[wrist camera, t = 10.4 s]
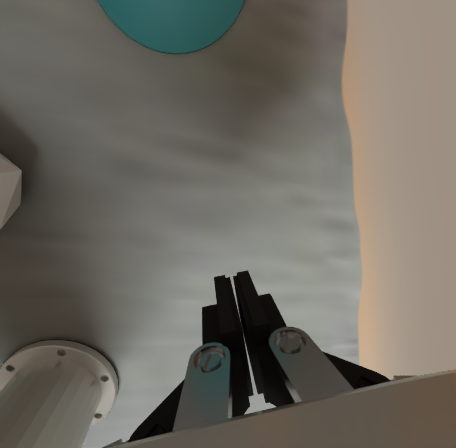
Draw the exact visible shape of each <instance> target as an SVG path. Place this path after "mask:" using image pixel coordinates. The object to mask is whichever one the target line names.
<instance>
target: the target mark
mask: <svg viewBox="0 0 456 448" xmlns="http://www.w3.org/2000/svg"><path fill="white" fill-rule="evenodd" d="M244 1H245V0H98V2H99V3H100V5H101V6H102V8H103V9H104V11H105V12H106V14H107V15H108V16H109V17H110V19H111V20H112V21H113V22H114V23H115V25H117V26H118V27H119V28H120V29H121V30H122V31H123V32H124V33H125V34H126V35H128V36H129V37H130V38H132V39H133V40H135V41H136V42H138V43H140V44H142V45H143V46H146V47H148V48H150V49H153V50H156V51H160V52H164V53H172V54H182V53H189V52H194V51H197V50H200V49H203V48H205V47H207V46H209V45H210V44H212V43H214V42H215V41H216V40H218V39H219V38H220V37H221V36H222V35H223V34H224V33H225V32H226V31H227V30H228V29H229V28H230V27H231V25H232V24H233V23H234V21H235V20H236V18H237V16H238V14H239V13H240V10H241V8H242V6H243V3H244Z"/></svg>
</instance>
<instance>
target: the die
mask: <svg viewBox="0 0 456 448" xmlns="http://www.w3.org/2000/svg"><path fill="white" fill-rule="evenodd" d="M21 180H22V170H20V169H19V168H18V167H17V166H16V165H14V164H13V163H12V162H11V161H9V160H8V159H7V158H6V157H4V156H3V155H2V154H1V153H0V230H1V228H2V227H3V226H4V225H5V223H6V222H7V221H8V219H9V218H10V217H11V216H12V214H13V213H14V212H15V211H16V209H17V208H18V207H19V206H20V204H21Z"/></svg>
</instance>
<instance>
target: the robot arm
mask: <svg viewBox="0 0 456 448" xmlns="http://www.w3.org/2000/svg"><path fill="white" fill-rule="evenodd" d="M233 279H234V285H235V291H236V297H237V302H238V308H239V313H238V309H237V305H236V301H235V297H234V293H233V288H232V284H231V280H230V277H228V278H225V275H222V276H217V277H214V281H215V290H216V299H217V304H215V305H210V306H206V307H202V342H203V345H202V346H200V347H199V348H197V349H196V350H195V351H194V352H193V354H192V355H191V357H190V359H189V363H188V367H187V372H186V376H185V379H184V380H183V381H182V382H181V383H180V384H179V385H178V386H177V387H176V388H175V390H174V391H173V392H172V393H171V394H170V395H169V396H168V397H167V398H166V399H165V400H164V401H163V402H162V403H161V404H160V405H159V406H158V407H157V408H156V409H155V410H154V411H153V412H152V413H151V414H150V415H149V416H148V417H147V418H146V419H145V420H144V422H143V423H142V424H141V425H140V426H139V427H138V428H137V429H136V430H135V432H134V433H133V434H132V435H131V437H130V439H129V440H128V441H126V442H123V441H122V439H120V440H118V441H116V442H113V443H111V444H109V445H107V446H105V447H103V448H456V370H448V371H442V372H436V373H430V374H424V375H419V376H394V378H393V380H389V379H388V378H386V377H385V376H383V375H381V374H379V373H377V372H374V371H372V370H369V369H367V368H364V367H362V366H359V365H356V364H354V363H351V362H348V361H346V360H343V359H341V358H338V357H335V356H333V355H330V354H328V353H325V352H322V351H321V350H320V348H319V347H318V346H317V345H316V344H315V343H314V341H313V340H312V339H311V338H310V337H309V336H308V334H306V333H305V332H304V331H303V330H301V329H299V328H295V327H287V326H286V324H285V322H284V320H283V318H282V316H281V314H280V312H279V310H278V308H277V306H276V304H275V302H274V300H273V298H272V296H271V295H270V294H265V295H260V296H258V294H257V292H256V289H255V287H254V284H253V282H252V279H251V277H250V275H249V272H248V271H243V272H238V273H237V276H233ZM239 314H240V317H239ZM240 320H241V322H240ZM241 325H242V326H241ZM242 330H243V331H242ZM243 334H244V336H243ZM244 339H245V342H244ZM245 343H246V347H247V351H248V355H249V359H250V363H251V368H252V372H253V376H254V380H255V384H256V388H257V392H258V394H261V393H263V394H264V398H265V402H266V403H269V402H270V403H271V404H273V405H275V406H276V407H275V408H271V409H267V410H262V411H258V412H254V413H250V414H245V415H244V413H245V412H246V410H247V409H248V407H250V403H249V397H248V396H252V395H253V389H252V383H251V377H250V371H249V365H248V359H247V353H246V348H245ZM117 392H118V379H117V376H116V373H115V371H114V369H113V367H112V365H111V364H110V363H109V362H108V361H107V359H106V358H105V357H104V356H102V355H101V354H100V353H98V352H97V351H95V350H93V349H91V348H90V347H88V346H85V345H82V344H79V343H76V342H71V341H65V340H48V341H41V342H37V343H34V344H30V345H28V346H26V347H24V348H22V349H20V350H18V351H17V352H16V353H14V354H13V355H12V356H11V357H10V358H9V359H8V360H7V361H6V362H5V363H4V364H3V365H2V367H1V368H0V448H81V447H82V444H83V442H84V440H85V437H86V435H87V432H88V430H89V428H90V427H92V426H94V425H96V424H97V423H98V422H100V421H101V420H103V419H104V417H105V416H106V415H107V414H108V413H109V412H110V410H111V408H112V407H113V405H114V402H115V399H116V396H117Z"/></svg>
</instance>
